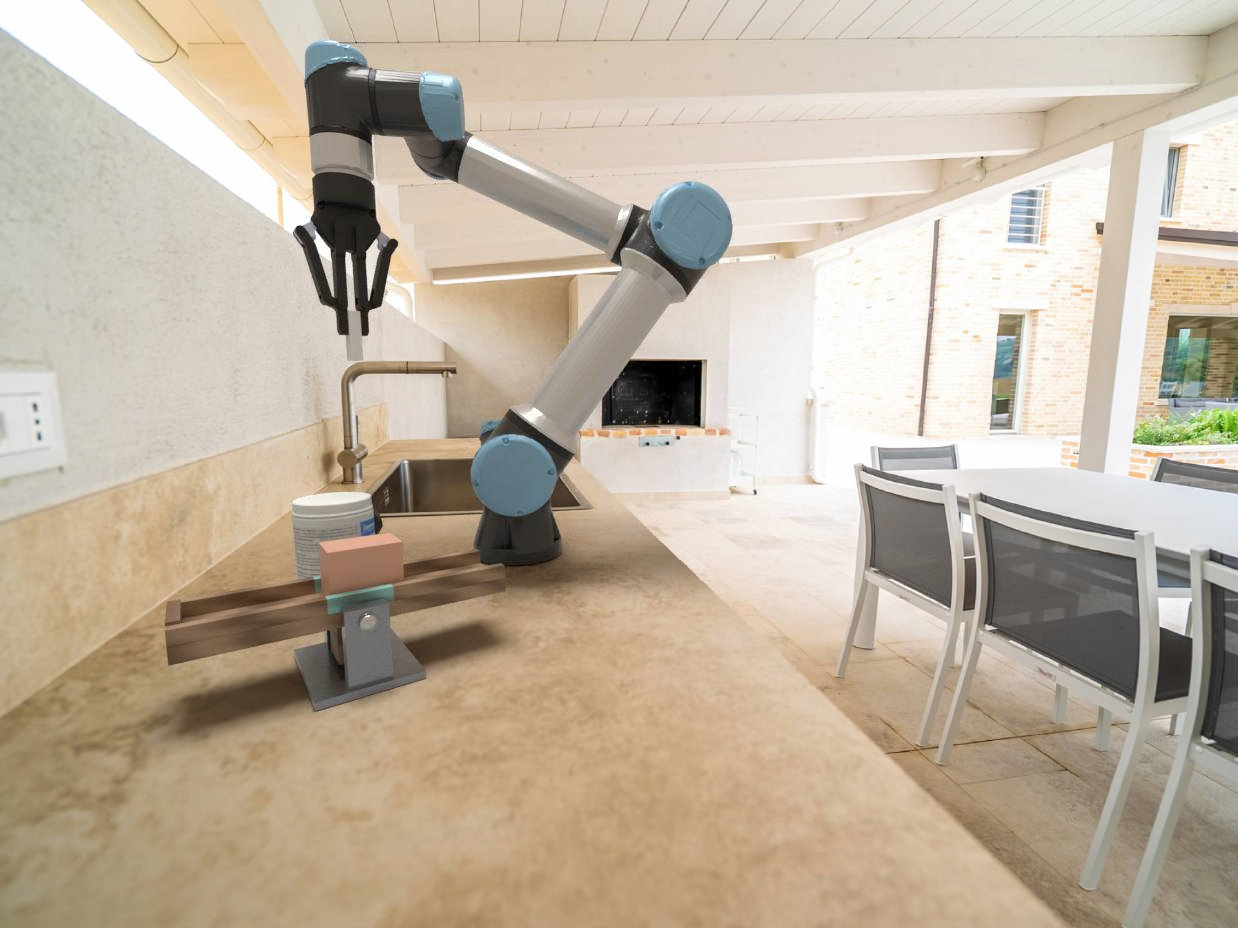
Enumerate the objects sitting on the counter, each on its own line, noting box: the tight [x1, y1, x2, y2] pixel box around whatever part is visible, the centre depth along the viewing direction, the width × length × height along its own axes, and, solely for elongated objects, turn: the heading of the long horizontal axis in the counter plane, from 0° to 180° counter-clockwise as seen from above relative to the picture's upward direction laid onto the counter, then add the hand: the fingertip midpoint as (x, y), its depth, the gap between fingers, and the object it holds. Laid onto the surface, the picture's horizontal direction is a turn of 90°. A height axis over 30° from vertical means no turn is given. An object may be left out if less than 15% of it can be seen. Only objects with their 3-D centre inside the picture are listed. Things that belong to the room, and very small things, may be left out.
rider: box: [319, 532, 404, 597], centre depth 59 cm, size 7×4×6 cm, turn 127°
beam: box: [164, 549, 506, 667], centre depth 59 cm, size 30×8×8 cm, turn 126°
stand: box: [293, 598, 427, 712], centre depth 60 cm, size 10×13×8 cm
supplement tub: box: [291, 491, 375, 580], centre depth 76 cm, size 10×10×15 cm
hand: (355, 360), depth 80 cm, fingers closed
